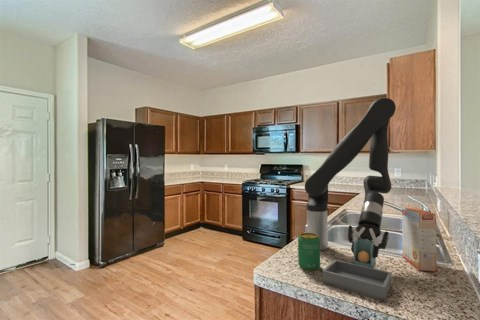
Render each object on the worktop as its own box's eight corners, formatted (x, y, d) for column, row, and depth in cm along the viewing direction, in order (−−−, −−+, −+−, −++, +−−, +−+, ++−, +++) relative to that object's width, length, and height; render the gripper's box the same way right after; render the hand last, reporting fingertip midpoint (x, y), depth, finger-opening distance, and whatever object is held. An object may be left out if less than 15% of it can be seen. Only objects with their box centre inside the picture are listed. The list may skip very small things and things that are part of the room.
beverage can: (319, 263, 99) (318, 232, 99) (321, 272, 91) (320, 238, 91) (298, 262, 100) (297, 231, 100) (298, 270, 93) (298, 237, 93)
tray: (322, 283, 83) (322, 270, 83) (335, 270, 92) (335, 259, 92) (385, 301, 71) (385, 287, 72) (392, 285, 81) (391, 272, 81)
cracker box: (438, 272, 89) (436, 213, 89) (418, 271, 91) (417, 213, 91) (418, 257, 103) (417, 206, 103) (402, 256, 104) (401, 206, 104)
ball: (356, 262, 92) (354, 255, 90) (361, 254, 94) (359, 247, 92) (367, 267, 89) (365, 259, 87) (372, 258, 91) (370, 251, 89)
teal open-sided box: (358, 260, 96) (358, 238, 96) (375, 264, 92) (375, 241, 92) (353, 266, 91) (353, 242, 91) (372, 270, 87) (372, 246, 87)
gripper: (349, 208, 102) (340, 245, 92) (391, 212, 93) (385, 254, 83) (353, 218, 106) (344, 255, 97) (393, 224, 97) (387, 265, 88)
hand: (363, 254), depth 90 cm, fingers closed on teal open-sided box, 6 cm apart
